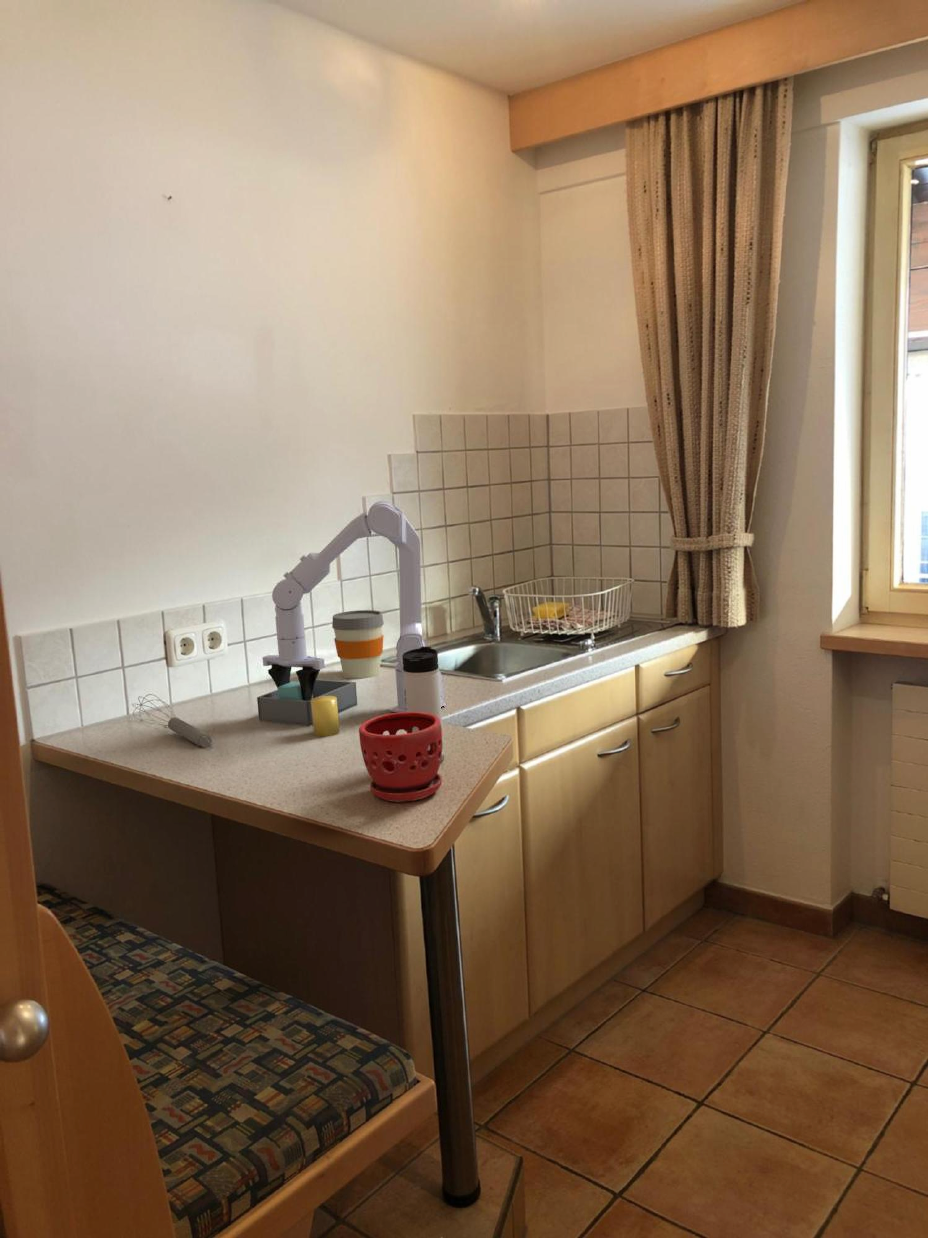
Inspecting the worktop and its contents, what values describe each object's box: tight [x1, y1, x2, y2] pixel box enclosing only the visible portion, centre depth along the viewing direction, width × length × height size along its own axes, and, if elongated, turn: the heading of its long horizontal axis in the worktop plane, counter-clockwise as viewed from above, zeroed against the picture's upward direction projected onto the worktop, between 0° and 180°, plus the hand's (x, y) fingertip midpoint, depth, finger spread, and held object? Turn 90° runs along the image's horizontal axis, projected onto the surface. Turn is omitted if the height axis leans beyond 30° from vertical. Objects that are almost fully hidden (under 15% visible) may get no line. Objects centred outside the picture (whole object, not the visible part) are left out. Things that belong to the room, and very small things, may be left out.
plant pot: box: [358, 712, 444, 803], centre depth 163 cm, size 13×13×12 cm
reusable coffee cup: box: [331, 609, 385, 680], centre depth 250 cm, size 13×13×15 cm
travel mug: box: [402, 646, 445, 763], centre depth 179 cm, size 6×7×20 cm
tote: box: [256, 678, 358, 726], centre depth 217 cm, size 17×13×5 cm
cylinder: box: [311, 696, 340, 738], centre depth 201 cm, size 5×5×7 cm
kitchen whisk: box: [131, 693, 214, 749], centre depth 207 cm, size 6×34×6 cm, turn 40°
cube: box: [277, 681, 313, 700], centre depth 213 cm, size 5×5×5 cm
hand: (296, 700), depth 214 cm, fingers closed on cube, 5 cm apart
